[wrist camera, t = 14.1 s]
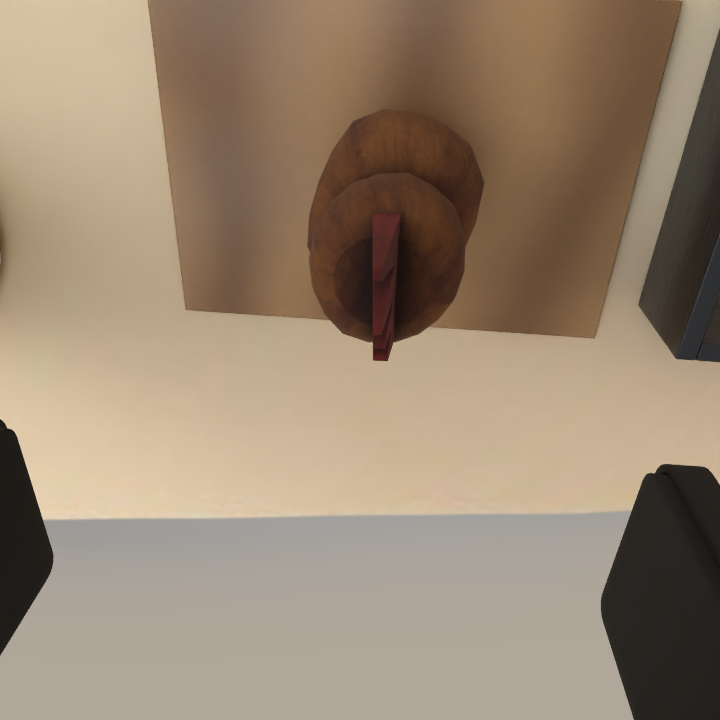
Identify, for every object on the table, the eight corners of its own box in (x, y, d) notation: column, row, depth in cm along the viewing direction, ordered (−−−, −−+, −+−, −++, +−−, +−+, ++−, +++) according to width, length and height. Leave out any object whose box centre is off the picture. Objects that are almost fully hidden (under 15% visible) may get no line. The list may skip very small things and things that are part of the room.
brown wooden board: (188, 306, 31) (185, 310, 31) (148, -21, 24) (144, -21, 23) (592, 334, 30) (594, 338, 30) (679, 0, 23) (683, 0, 22)
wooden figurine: (364, 71, 24) (302, 155, 12) (494, 130, 25) (573, 272, 12) (307, 223, 28) (211, 420, 15) (424, 272, 29) (428, 499, 16)
